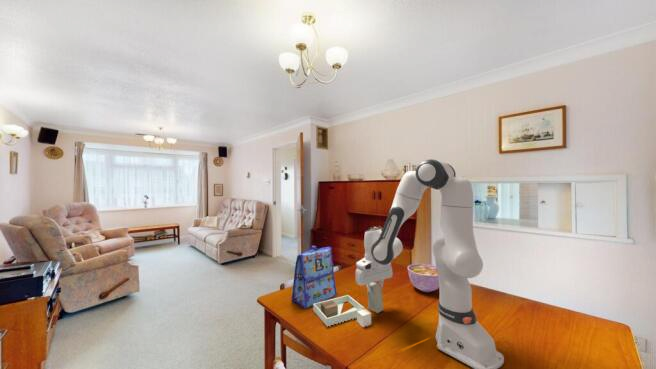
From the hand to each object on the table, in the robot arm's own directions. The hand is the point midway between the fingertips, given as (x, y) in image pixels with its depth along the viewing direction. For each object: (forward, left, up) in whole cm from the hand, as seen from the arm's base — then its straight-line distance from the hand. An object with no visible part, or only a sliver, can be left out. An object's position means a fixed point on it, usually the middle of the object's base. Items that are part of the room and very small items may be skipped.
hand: (375, 289), depth 118 cm
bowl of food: (+6, -41, -10) cm, 42 cm away
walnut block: (+6, +22, -9) cm, 25 cm away
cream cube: (-6, +11, -10) cm, 17 cm away
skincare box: (+1, -1, -10) cm, 10 cm away
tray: (+6, +17, -10) cm, 21 cm away
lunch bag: (+26, +21, -10) cm, 35 cm away
